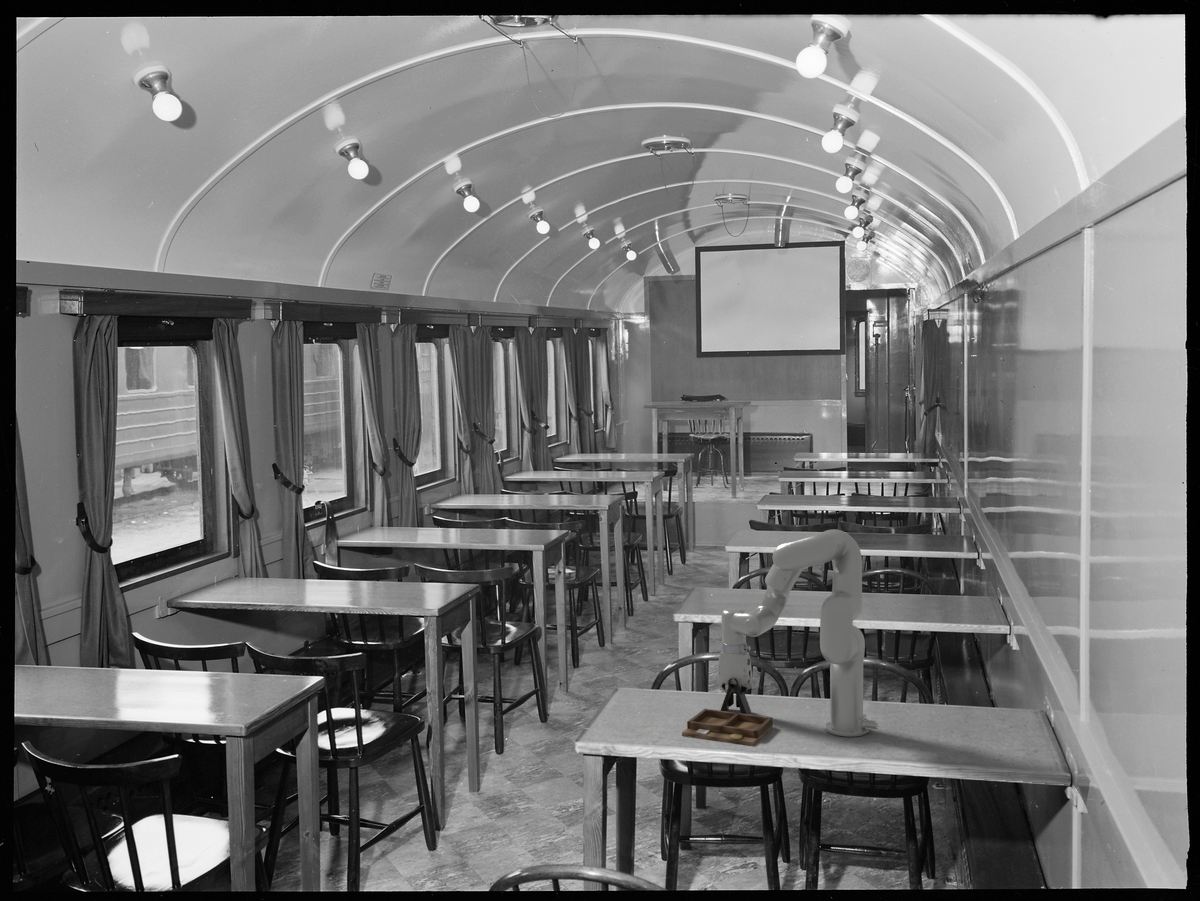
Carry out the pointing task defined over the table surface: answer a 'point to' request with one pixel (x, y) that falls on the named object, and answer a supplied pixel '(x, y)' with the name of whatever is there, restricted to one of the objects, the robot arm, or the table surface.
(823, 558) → the robot arm
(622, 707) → the table surface
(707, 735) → the bay board
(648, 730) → the table surface
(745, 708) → the phone stand
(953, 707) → the table surface
